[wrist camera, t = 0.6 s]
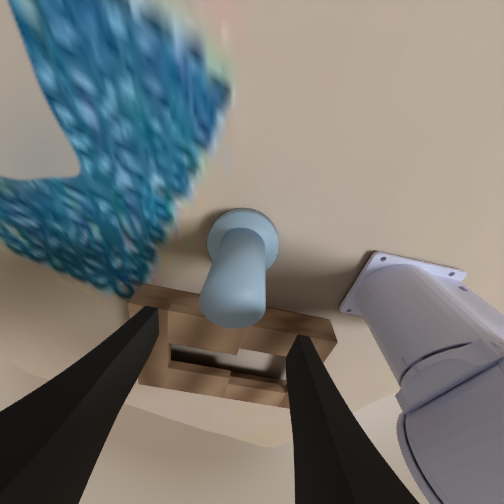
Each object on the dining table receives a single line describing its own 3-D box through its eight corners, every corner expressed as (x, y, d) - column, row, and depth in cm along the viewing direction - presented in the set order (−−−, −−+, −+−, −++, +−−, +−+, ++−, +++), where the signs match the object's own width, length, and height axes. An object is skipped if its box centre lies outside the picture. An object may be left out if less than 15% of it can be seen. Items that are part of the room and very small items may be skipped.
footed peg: (286, 216, 18) (301, 275, 11) (268, 273, 21) (270, 347, 14) (214, 200, 18) (180, 250, 10) (207, 260, 21) (177, 330, 14)
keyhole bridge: (329, 319, 24) (337, 342, 22) (289, 386, 33) (291, 408, 30) (142, 283, 23) (127, 302, 20) (149, 363, 31) (138, 384, 29)
